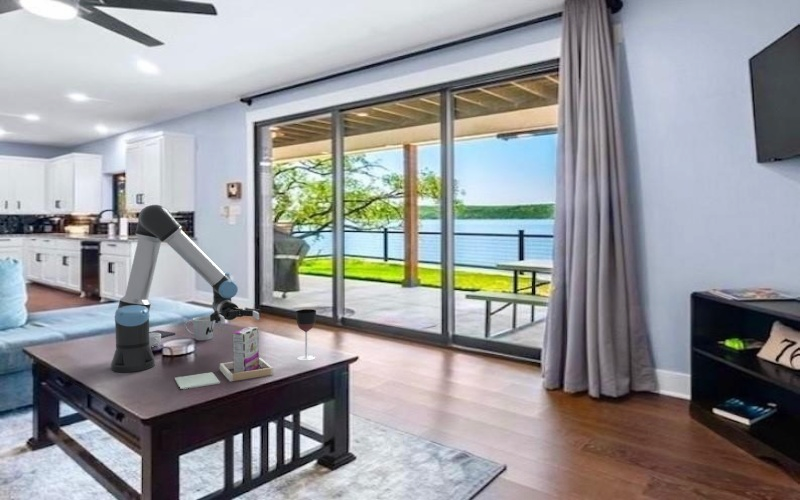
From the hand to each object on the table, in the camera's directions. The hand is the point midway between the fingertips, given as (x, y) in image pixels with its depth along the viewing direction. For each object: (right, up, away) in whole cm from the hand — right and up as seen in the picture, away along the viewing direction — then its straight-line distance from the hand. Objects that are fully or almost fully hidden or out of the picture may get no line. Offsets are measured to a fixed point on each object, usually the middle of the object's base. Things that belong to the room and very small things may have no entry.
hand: (241, 318), depth 198 cm
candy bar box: (+4, -20, -7) cm, 21 cm away
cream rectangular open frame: (+4, -19, -7) cm, 21 cm away
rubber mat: (-10, -20, -19) cm, 29 cm away
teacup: (-49, -17, +28) cm, 59 cm away
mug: (-35, -16, +45) cm, 59 cm away
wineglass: (+23, -19, +13) cm, 33 cm away
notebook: (-60, -16, +45) cm, 77 cm away
